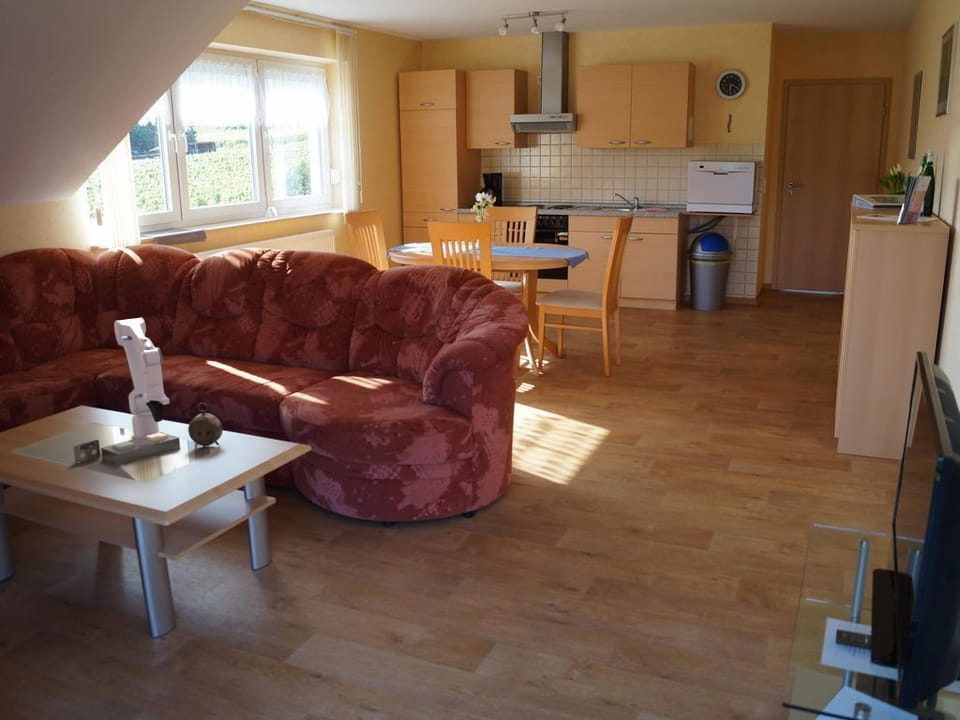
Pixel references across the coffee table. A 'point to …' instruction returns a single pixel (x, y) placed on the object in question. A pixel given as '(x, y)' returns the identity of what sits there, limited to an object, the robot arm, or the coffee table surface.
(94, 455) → the mini dv tape
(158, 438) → the white key
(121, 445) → the teal key
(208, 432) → the alarm clock
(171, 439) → the key housing
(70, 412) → the coffee table surface
